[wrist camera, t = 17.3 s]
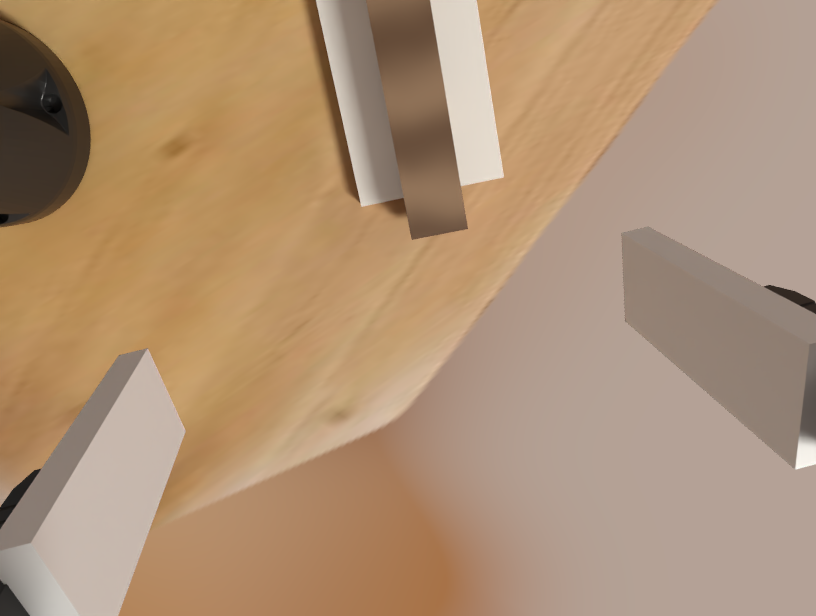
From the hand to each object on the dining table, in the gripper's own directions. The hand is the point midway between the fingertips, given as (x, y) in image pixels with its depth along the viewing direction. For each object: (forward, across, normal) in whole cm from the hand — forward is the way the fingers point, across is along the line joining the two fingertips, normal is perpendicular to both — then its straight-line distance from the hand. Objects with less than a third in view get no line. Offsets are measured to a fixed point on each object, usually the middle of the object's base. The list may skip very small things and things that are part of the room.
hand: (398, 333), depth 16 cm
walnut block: (+30, +6, +6) cm, 31 cm away
